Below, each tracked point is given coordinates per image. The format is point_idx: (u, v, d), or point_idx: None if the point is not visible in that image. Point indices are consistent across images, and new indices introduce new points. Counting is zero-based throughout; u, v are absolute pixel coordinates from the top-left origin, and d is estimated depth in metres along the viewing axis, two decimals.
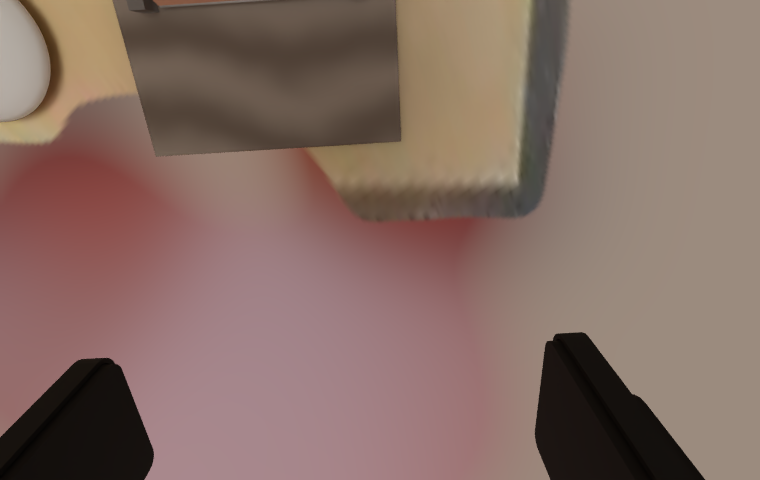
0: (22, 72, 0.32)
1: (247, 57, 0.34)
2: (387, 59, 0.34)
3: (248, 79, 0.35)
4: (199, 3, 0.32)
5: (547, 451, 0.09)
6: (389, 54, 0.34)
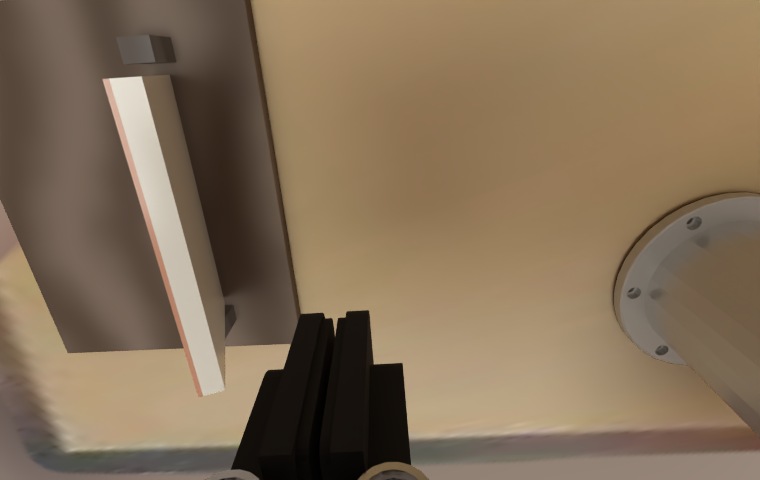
0: None
1: (118, 181, 0.25)
2: (155, 339, 0.30)
3: (89, 180, 0.25)
4: None
5: None
6: (161, 341, 0.30)
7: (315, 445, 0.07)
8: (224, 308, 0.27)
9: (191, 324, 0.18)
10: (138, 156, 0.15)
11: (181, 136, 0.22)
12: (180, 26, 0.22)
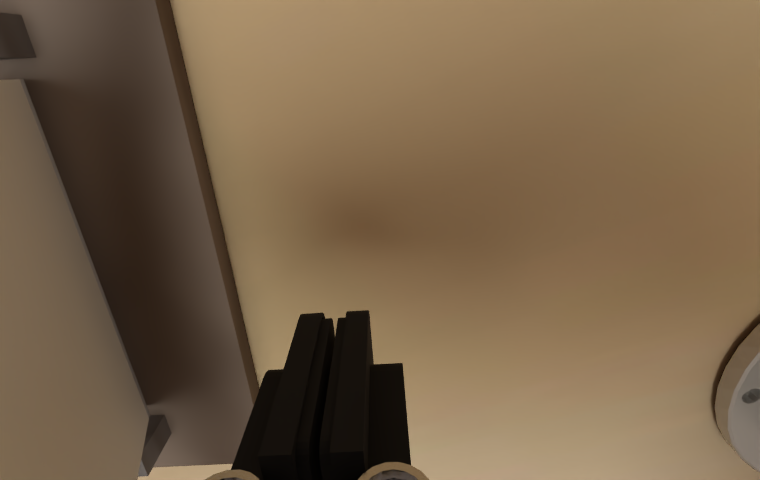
0: None
1: None
2: None
3: None
4: None
5: None
6: None
7: (315, 445, 0.07)
8: (145, 430, 0.18)
9: None
10: None
11: (42, 184, 0.13)
12: None
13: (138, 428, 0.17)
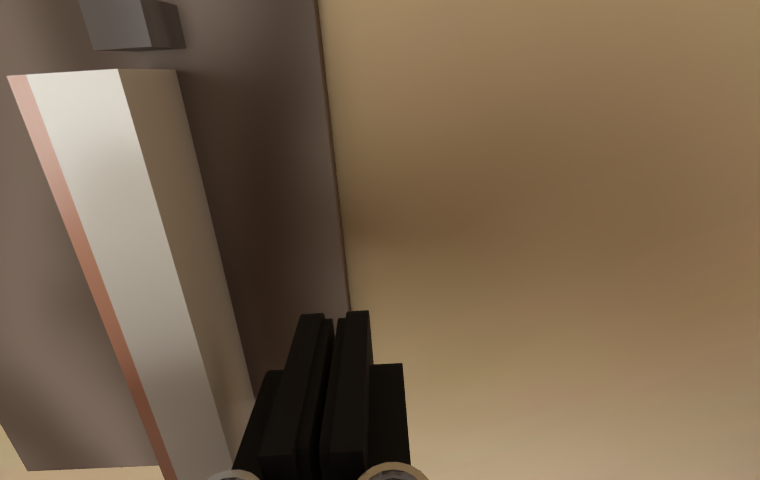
0: None
1: None
2: (154, 453, 0.20)
3: (47, 236, 0.16)
4: None
5: None
6: None
7: (315, 445, 0.07)
8: None
9: None
10: (114, 266, 0.06)
11: (196, 174, 0.13)
12: None
13: None
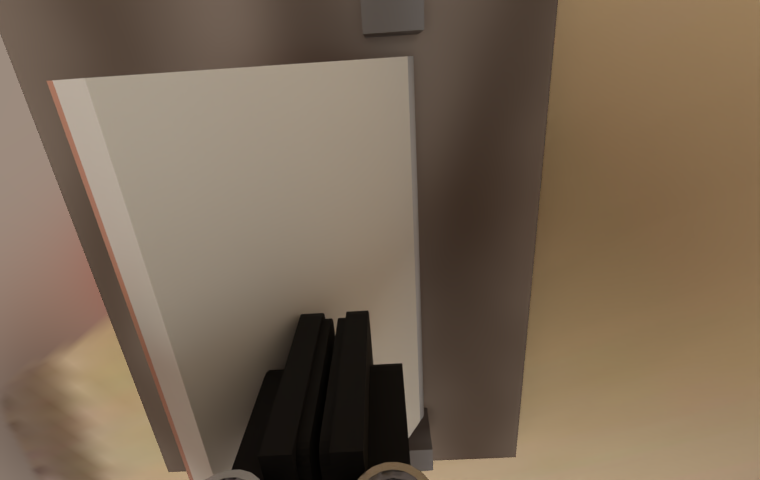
0: None
1: None
2: None
3: None
4: None
5: None
6: None
7: (315, 445, 0.07)
8: (410, 433, 0.17)
9: None
10: (117, 252, 0.07)
11: (389, 171, 0.12)
12: None
13: None
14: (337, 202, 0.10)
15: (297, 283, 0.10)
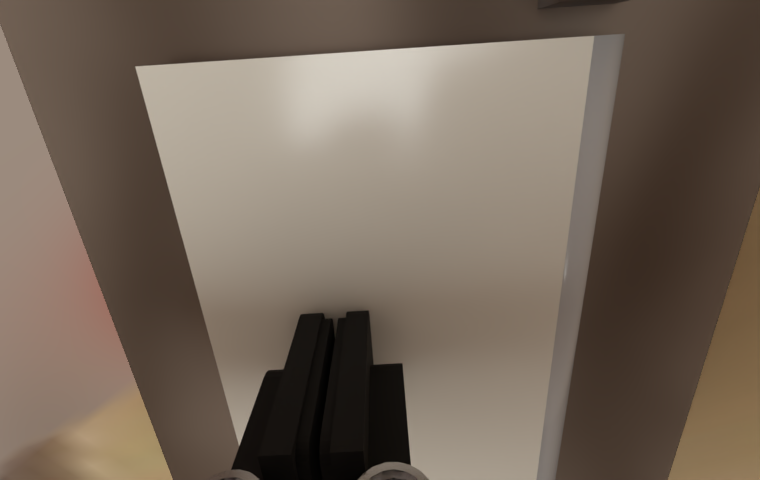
0: None
1: None
2: None
3: None
4: None
5: None
6: None
7: (315, 445, 0.07)
8: None
9: None
10: None
11: (512, 197, 0.09)
12: None
13: None
14: (397, 212, 0.09)
15: (325, 275, 0.10)
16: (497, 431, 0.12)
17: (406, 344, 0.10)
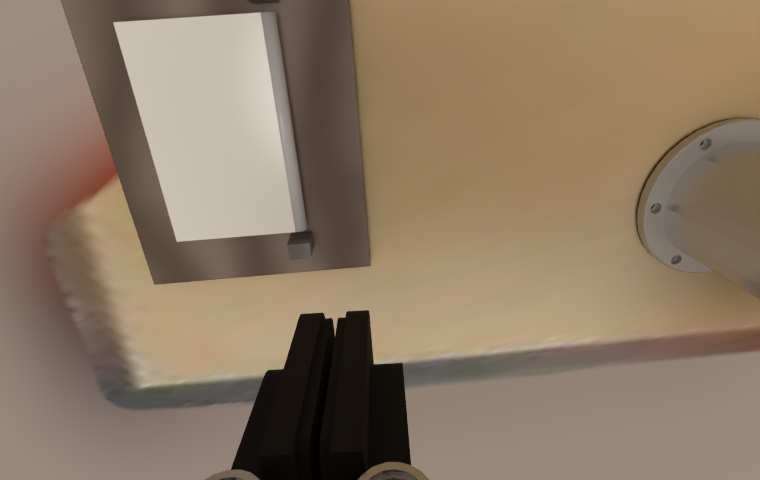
0: None
1: None
2: (238, 267, 0.32)
3: None
4: None
5: None
6: (243, 269, 0.33)
7: (315, 445, 0.07)
8: (284, 231, 0.30)
9: None
10: None
11: (248, 69, 0.26)
12: None
13: (274, 223, 0.30)
14: (208, 75, 0.26)
15: (186, 102, 0.26)
16: (267, 176, 0.28)
17: (222, 133, 0.27)
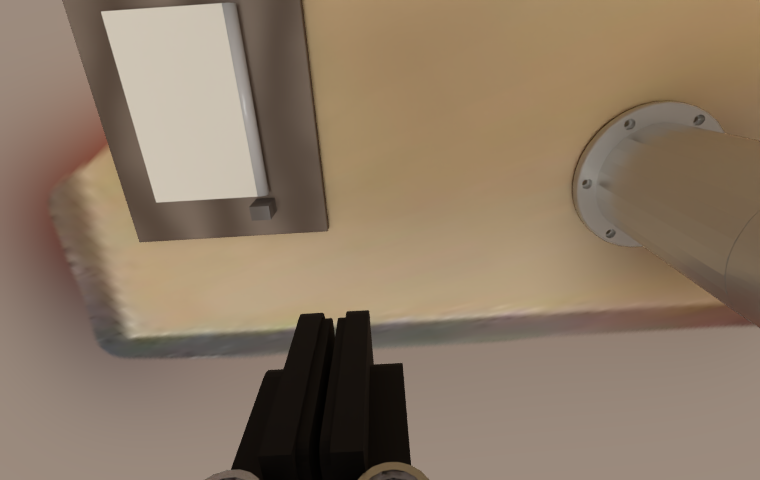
0: None
1: None
2: (211, 229, 0.37)
3: None
4: None
5: None
6: (216, 230, 0.37)
7: (315, 445, 0.07)
8: (247, 196, 0.34)
9: None
10: None
11: (212, 52, 0.30)
12: None
13: (239, 188, 0.34)
14: (179, 57, 0.30)
15: (161, 79, 0.31)
16: (232, 146, 0.33)
17: (192, 107, 0.32)
